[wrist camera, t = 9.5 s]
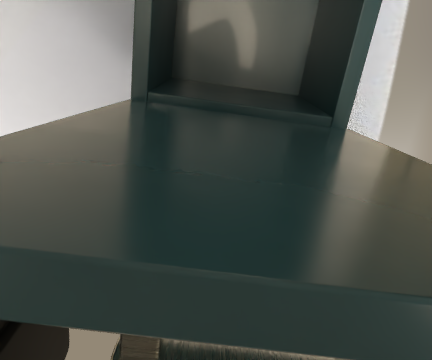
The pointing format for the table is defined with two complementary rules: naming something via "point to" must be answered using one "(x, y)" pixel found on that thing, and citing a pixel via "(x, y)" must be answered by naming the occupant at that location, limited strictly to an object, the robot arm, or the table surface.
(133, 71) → the teal open box
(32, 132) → the teal box lid
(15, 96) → the table surface
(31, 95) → the table surface
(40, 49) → the table surface
